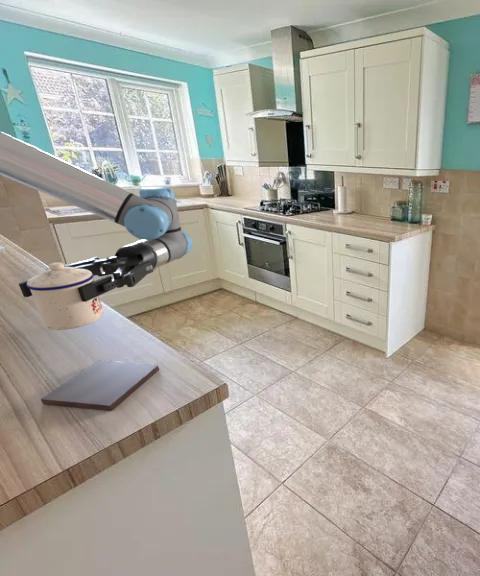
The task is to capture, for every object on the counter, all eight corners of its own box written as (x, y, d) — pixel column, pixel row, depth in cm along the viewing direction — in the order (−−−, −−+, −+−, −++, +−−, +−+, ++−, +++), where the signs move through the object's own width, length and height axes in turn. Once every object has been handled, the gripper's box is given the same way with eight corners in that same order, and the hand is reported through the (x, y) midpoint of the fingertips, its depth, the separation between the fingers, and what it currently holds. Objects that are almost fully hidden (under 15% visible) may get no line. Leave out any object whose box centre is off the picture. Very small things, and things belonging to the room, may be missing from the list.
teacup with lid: (111, 320, 65) (93, 264, 60) (47, 337, 58) (22, 276, 54) (96, 301, 72) (79, 250, 67) (38, 314, 65) (15, 259, 61)
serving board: (42, 404, 59) (40, 399, 58) (100, 364, 70) (99, 359, 69) (111, 410, 58) (109, 405, 58) (159, 369, 69) (158, 365, 69)
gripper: (190, 274, 81) (117, 315, 61) (101, 268, 82) (1, 306, 62) (184, 245, 78) (106, 278, 58) (92, 239, 79) (-16, 269, 59)
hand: (52, 292), depth 60 cm, fingers closed on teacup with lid, 11 cm apart
